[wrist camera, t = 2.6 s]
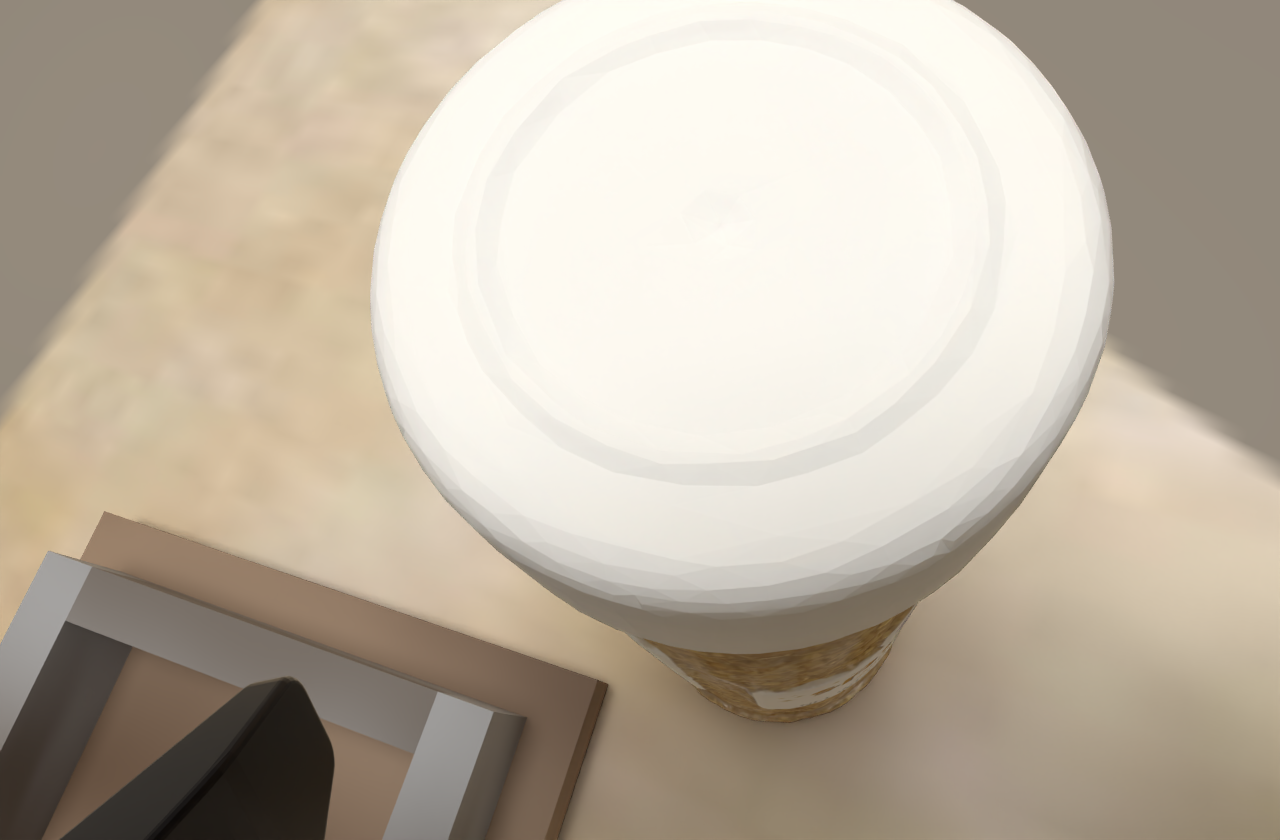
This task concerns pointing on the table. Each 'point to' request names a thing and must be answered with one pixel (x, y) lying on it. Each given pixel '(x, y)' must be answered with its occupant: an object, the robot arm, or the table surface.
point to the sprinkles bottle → (744, 318)
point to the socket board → (262, 650)
